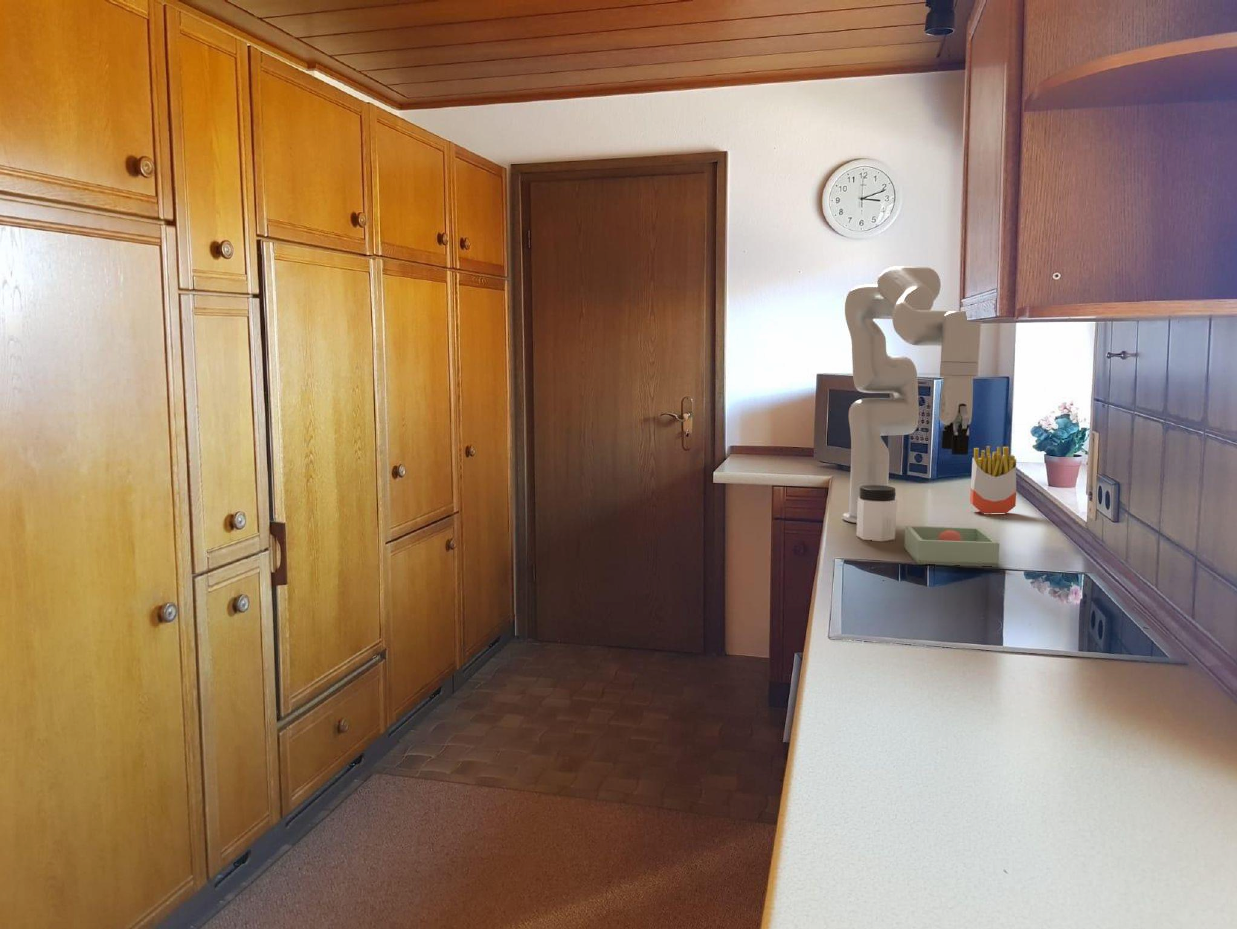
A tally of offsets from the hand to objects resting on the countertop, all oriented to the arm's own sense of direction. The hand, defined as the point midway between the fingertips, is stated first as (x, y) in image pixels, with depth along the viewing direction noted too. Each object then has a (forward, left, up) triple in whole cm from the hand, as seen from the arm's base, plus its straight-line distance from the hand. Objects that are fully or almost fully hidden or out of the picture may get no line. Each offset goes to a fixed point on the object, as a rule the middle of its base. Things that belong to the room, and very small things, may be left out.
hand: (954, 451), depth 198 cm
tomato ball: (0, 0, -20) cm, 20 cm away
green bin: (0, 0, -23) cm, 23 cm away
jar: (-18, -13, -23) cm, 32 cm away
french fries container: (-56, +23, -23) cm, 65 cm away
